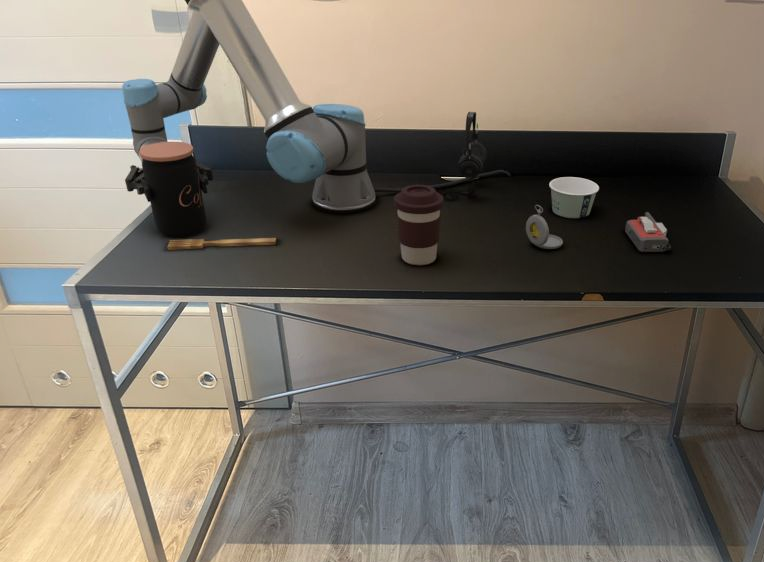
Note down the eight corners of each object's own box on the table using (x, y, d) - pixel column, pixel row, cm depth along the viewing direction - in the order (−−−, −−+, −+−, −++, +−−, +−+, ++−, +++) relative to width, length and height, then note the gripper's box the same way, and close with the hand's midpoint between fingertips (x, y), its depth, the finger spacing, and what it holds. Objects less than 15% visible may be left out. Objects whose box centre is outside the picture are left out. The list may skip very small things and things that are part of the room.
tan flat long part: (276, 239, 153) (276, 236, 152) (275, 246, 150) (275, 242, 150) (170, 243, 149) (170, 240, 149) (167, 250, 147) (167, 246, 146)
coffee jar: (192, 241, 150) (175, 159, 141) (147, 235, 152) (127, 154, 142) (217, 222, 159) (203, 143, 149) (174, 217, 161) (157, 139, 151)
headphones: (444, 179, 188) (446, 103, 177) (486, 183, 187) (490, 106, 176) (435, 200, 175) (435, 119, 164) (479, 204, 174) (483, 122, 163)
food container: (537, 205, 174) (539, 180, 171) (577, 199, 179) (580, 174, 175) (564, 223, 166) (567, 197, 162) (605, 216, 170) (609, 190, 167)
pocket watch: (565, 241, 157) (570, 198, 152) (556, 256, 150) (561, 212, 145) (530, 235, 159) (533, 193, 154) (520, 249, 153) (523, 206, 147)
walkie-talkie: (678, 254, 153) (649, 218, 170) (682, 235, 151) (652, 201, 167) (640, 255, 152) (614, 218, 169) (643, 236, 150) (617, 201, 167)
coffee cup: (424, 273, 142) (424, 203, 133) (385, 260, 146) (383, 191, 138) (451, 256, 149) (453, 188, 141) (413, 244, 153) (412, 178, 145)
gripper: (212, 169, 170) (235, 199, 155) (109, 183, 161) (122, 217, 145) (207, 138, 166) (230, 166, 150) (101, 150, 157) (113, 182, 141)
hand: (177, 191), depth 148 cm, fingers closed on coffee jar, 11 cm apart
